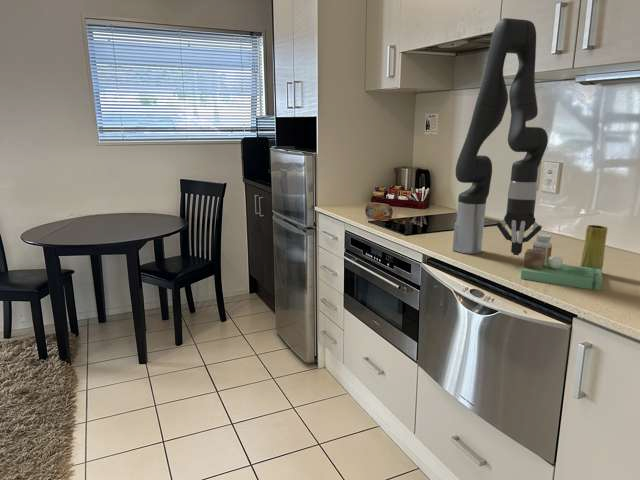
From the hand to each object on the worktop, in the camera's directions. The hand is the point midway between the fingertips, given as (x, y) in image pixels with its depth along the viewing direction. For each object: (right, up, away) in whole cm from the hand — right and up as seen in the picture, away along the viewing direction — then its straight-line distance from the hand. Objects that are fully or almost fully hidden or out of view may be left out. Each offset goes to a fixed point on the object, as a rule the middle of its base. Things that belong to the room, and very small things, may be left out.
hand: (515, 254), depth 141 cm
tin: (-31, +13, +80) cm, 87 cm away
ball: (+9, -2, -5) cm, 11 cm away
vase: (+23, -6, +1) cm, 24 cm away
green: (+11, -7, -5) cm, 14 cm away
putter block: (+5, -3, -2) cm, 6 cm away
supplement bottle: (+11, -4, +9) cm, 15 cm away
